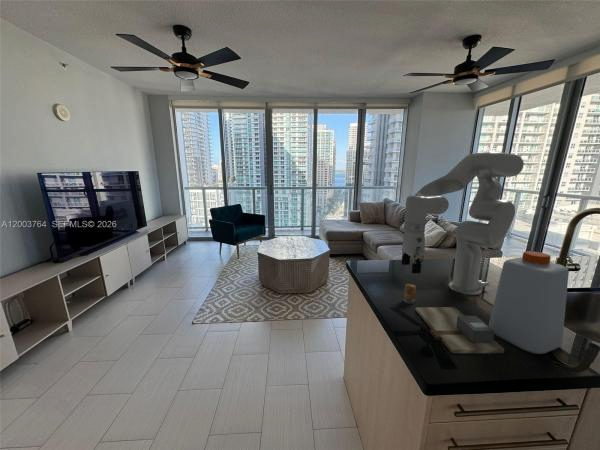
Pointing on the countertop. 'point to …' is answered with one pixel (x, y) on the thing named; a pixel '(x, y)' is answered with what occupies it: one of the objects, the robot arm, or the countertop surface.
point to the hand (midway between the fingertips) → (410, 268)
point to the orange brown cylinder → (409, 293)
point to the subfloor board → (453, 331)
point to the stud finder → (475, 329)
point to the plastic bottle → (531, 303)
